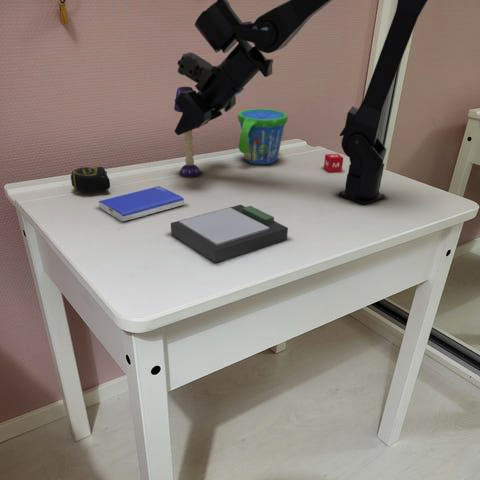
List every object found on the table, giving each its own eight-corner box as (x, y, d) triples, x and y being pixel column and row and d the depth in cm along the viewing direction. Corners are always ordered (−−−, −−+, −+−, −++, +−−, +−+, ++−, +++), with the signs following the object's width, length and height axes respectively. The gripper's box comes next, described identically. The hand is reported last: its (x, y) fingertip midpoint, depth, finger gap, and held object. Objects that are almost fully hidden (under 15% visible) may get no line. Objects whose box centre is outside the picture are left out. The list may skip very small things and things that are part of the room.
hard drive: (158, 185, 92) (98, 199, 85) (183, 197, 87) (122, 213, 80) (158, 193, 93) (99, 208, 86) (184, 205, 88) (123, 222, 81)
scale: (240, 215, 85) (240, 199, 83) (287, 239, 77) (288, 222, 76) (171, 234, 78) (170, 218, 76) (215, 263, 70) (215, 245, 68)
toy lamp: (190, 179, 100) (187, 90, 91) (172, 174, 102) (168, 87, 93) (204, 173, 104) (202, 87, 94) (186, 169, 106) (183, 84, 96)
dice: (328, 172, 106) (330, 158, 105) (323, 168, 109) (325, 154, 107) (341, 171, 107) (343, 157, 105) (336, 167, 110) (337, 153, 108)
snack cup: (258, 173, 105) (260, 123, 99) (221, 163, 110) (221, 115, 104) (298, 158, 115) (302, 112, 109) (262, 149, 120) (264, 105, 114)
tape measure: (111, 195, 92) (109, 175, 90) (73, 198, 90) (70, 177, 88) (108, 183, 97) (106, 164, 95) (72, 185, 95) (69, 166, 93)
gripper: (221, 33, 95) (172, 90, 104) (183, 40, 80) (129, 106, 89) (258, 80, 98) (207, 132, 107) (227, 96, 83) (171, 155, 92)
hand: (180, 130), depth 99 cm, fingers closed on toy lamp, 4 cm apart
